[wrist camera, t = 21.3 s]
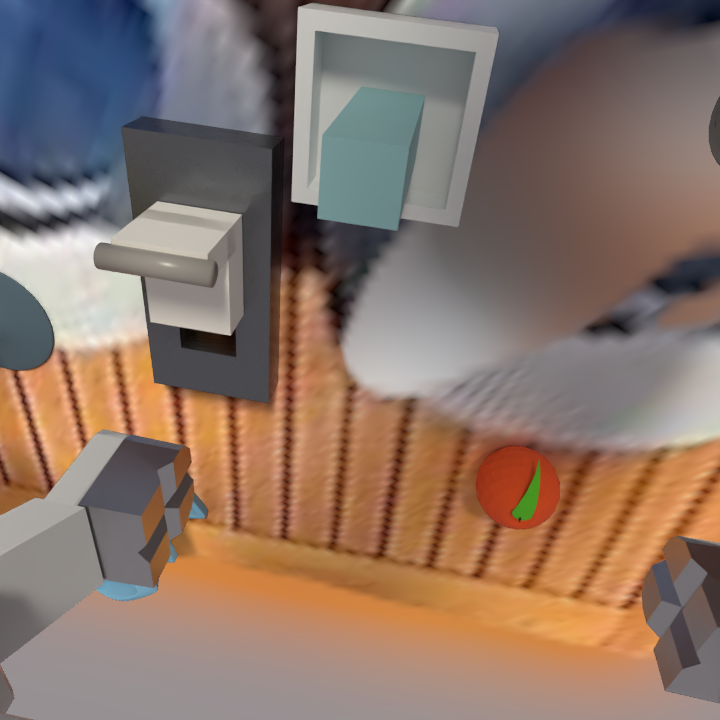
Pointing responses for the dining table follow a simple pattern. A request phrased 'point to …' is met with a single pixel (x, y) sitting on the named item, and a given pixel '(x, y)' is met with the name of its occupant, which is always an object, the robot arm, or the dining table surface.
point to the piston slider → (183, 265)
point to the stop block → (370, 158)
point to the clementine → (518, 487)
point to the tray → (395, 73)
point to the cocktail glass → (22, 328)
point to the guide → (259, 238)
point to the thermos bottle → (715, 132)
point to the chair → (135, 592)
